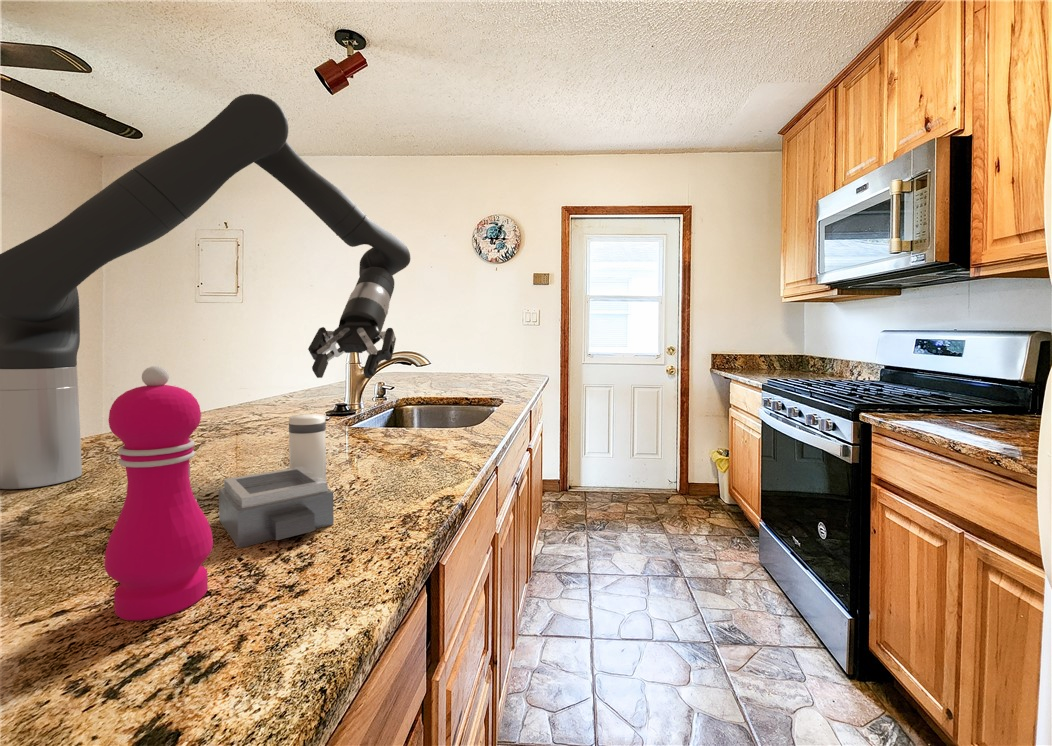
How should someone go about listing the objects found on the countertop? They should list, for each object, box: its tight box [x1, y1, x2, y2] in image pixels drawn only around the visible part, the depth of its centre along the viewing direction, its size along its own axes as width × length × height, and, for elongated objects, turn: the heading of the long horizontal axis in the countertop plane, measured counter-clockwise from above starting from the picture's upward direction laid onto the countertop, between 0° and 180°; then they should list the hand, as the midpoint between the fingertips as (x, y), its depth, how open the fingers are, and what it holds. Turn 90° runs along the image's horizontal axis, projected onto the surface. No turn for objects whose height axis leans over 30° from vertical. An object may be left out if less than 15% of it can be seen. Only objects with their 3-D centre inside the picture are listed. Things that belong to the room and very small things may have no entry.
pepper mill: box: [104, 365, 214, 622], centre depth 39 cm, size 7×7×20 cm
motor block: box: [218, 467, 335, 549], centre depth 56 cm, size 12×10×5 cm
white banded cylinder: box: [288, 413, 327, 482], centre depth 69 cm, size 5×5×11 cm
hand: (342, 375), depth 79 cm, fingers open, 8 cm apart
